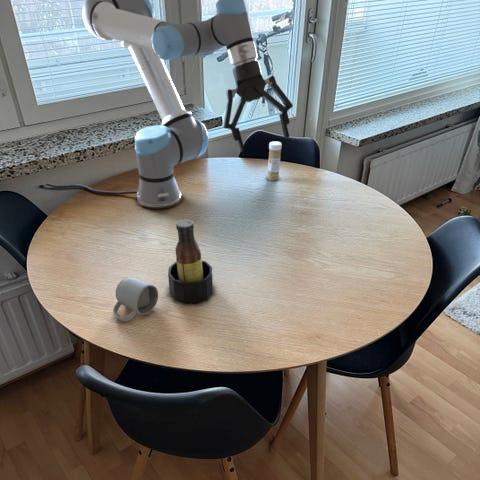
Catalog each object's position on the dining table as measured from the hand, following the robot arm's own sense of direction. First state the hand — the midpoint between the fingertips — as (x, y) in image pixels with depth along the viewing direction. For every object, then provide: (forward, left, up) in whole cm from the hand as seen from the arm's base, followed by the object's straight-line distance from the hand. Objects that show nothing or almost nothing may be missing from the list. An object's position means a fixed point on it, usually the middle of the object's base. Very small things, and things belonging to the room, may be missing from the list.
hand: (265, 144), depth 127 cm
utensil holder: (0, -43, -25) cm, 49 cm away
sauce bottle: (0, -43, -25) cm, 50 cm away
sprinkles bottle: (-10, +33, -25) cm, 43 cm away
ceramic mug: (-8, -56, -25) cm, 62 cm away
